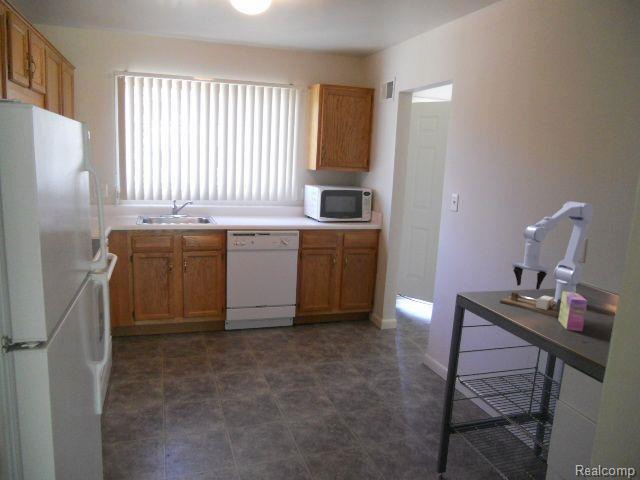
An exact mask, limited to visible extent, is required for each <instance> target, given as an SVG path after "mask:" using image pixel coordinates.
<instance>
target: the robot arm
mask: <svg viewBox="0 0 640 480" xmlns="http://www.w3.org/2000/svg"><path fill="white" fill-rule="evenodd" d="M594 211H595V210H594V207H593V206H592V204H591V203H589V202H577V201H571V200H569V201H566V203H564V204H563V205H562V208H560V209H559V210H558V211H556V212H555V213H554V214H553V215H552V216H544V217H543V218H542V219H541V220H540V221H538V222H536V223H535V224H534V225H529V226H527V227H526V228H525V229H524V232H523V237H524V242H525V249H524V256H523V262H522V263H521V262H515V261H514V262H512V263H511V268H513V270H512V271H513V272H514V275H515V279H516V286H517V287H518V286H521V284H522V276H523V271H524V270H526V271H527V270H528V271H532V272H533V271H534V272H537V273H536V275H537V277H536V279H537V280H536V286H535V287H536V288H535V290H540V288H541V285H542V282H543V281H544V280H545V278H546V276H547V275H550V274H551V273H550V272H551V268H549V267H545V266H540V264H539V263H540V258H541V257H540V256H541V247H542V241H544V240H545V239H546V237H547V235H548V234H549V233H550V232H552V231H554V230H555V229H556V228H557V224H559V223H561V222H562V221H564V220H565V219H567V218H568V219H569V220H570V221H571V222H572V223H573V228H572V232H571V234H570V235H571V236H570V237H569V242H568V245H567V248H566V252H565V255H564V259H562V260H559V262H557V265H556V267H555V269H554V270H553V277H554V279H555V281H556V287H555V288H556V289H555V293H554V303H557V301H558V299H559V298H560V297H561V298H562V292H563V291H564V292H575V293H577V292H576V291H577V287H576V286H577V285H578V284H579V283H580V281H581V280H582V271H583V267H582V266H581V265H580V264H579V259H580V256H581V254H582V249H583V246H584V242H585V239H586V236H587V232H588V229H589V226H590V224H591V221H592V218H593V215H594Z"/></svg>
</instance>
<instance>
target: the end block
mask: <svg viewBox="0 0 640 480" xmlns="http://www.w3.org/2000/svg"><path fill="white" fill-rule="evenodd" d="M561 299H562V298H561V297H560V298H559V299H558V301H557V308H556V311H558V312H560V306H561Z"/></svg>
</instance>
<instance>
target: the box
mask: <svg viewBox="0 0 640 480" xmlns="http://www.w3.org/2000/svg"><path fill="white" fill-rule="evenodd" d="M587 305H588V300H587V299H586V297H585V298H584V296H582V295H581V294H580V293H579V292H576V293H575V292H564V291H563V292H562V299H561V306H560V312H559V317H558V319H557V320H558V322H559V323H560V324H561V325H562V326H563V328H565V331H566V330H568V331H575V332H576V331H577V332H583V330H584V325H585V323H584V322H585V317H586V312H587V307H588V306H587Z"/></svg>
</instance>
